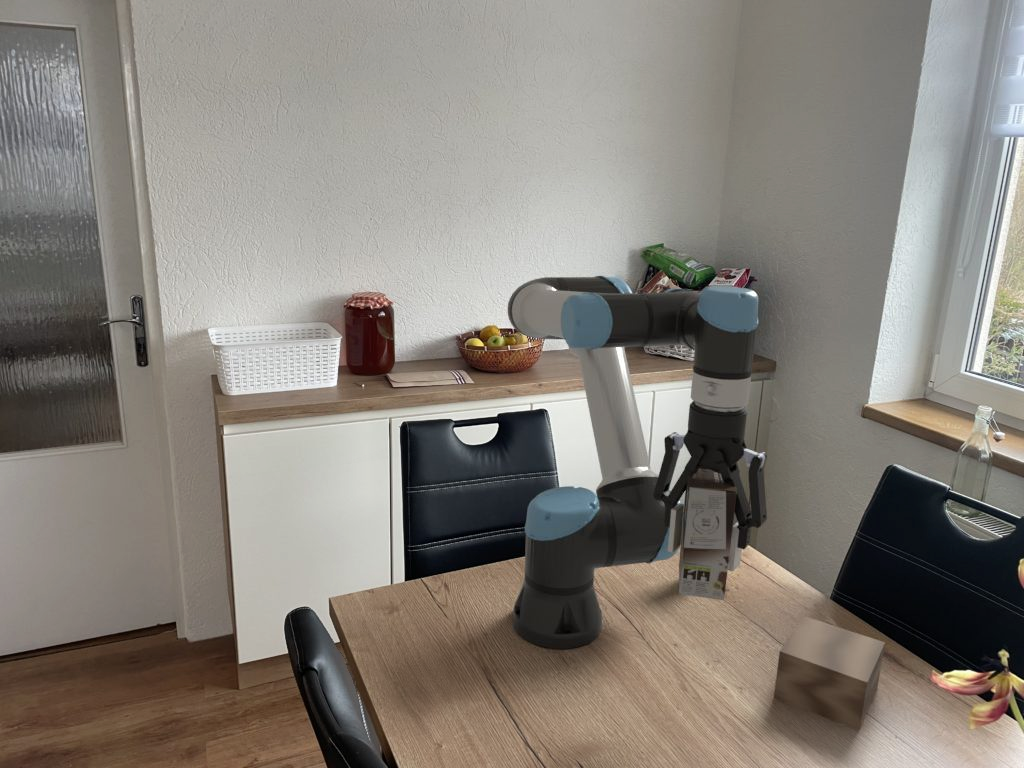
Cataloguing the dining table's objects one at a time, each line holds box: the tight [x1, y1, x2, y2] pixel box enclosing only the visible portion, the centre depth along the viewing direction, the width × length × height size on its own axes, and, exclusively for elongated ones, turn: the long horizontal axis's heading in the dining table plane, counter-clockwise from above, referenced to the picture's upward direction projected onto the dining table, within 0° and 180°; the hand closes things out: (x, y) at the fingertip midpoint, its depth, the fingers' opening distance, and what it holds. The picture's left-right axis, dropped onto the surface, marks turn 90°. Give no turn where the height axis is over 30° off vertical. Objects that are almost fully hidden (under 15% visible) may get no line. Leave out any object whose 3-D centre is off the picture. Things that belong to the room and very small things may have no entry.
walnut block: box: [773, 615, 886, 731], centre depth 117 cm, size 12×12×8 cm
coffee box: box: [678, 468, 737, 601], centre depth 110 cm, size 9×6×16 cm
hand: (703, 557), depth 111 cm, fingers closed on coffee box, 8 cm apart
